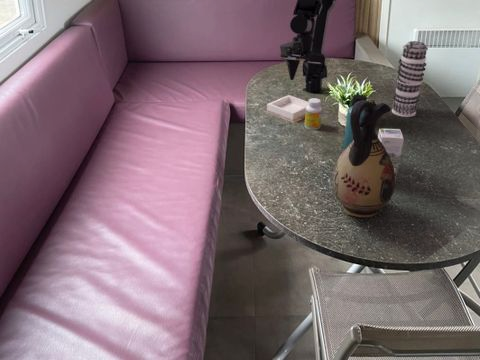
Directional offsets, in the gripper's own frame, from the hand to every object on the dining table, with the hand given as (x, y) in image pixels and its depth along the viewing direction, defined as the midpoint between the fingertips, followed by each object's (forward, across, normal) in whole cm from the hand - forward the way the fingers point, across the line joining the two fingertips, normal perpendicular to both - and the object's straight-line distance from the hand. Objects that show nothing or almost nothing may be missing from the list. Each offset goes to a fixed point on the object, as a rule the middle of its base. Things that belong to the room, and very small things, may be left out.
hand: (299, 81), depth 175 cm
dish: (+11, -4, +1) cm, 12 cm away
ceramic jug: (+26, +54, -16) cm, 62 cm away
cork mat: (+12, -4, +1) cm, 12 cm away
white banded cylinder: (+8, +15, +37) cm, 41 cm away
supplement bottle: (+14, +9, +1) cm, 17 cm away
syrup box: (+22, +46, 0) cm, 51 cm away
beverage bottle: (+19, +32, 0) cm, 38 cm away
